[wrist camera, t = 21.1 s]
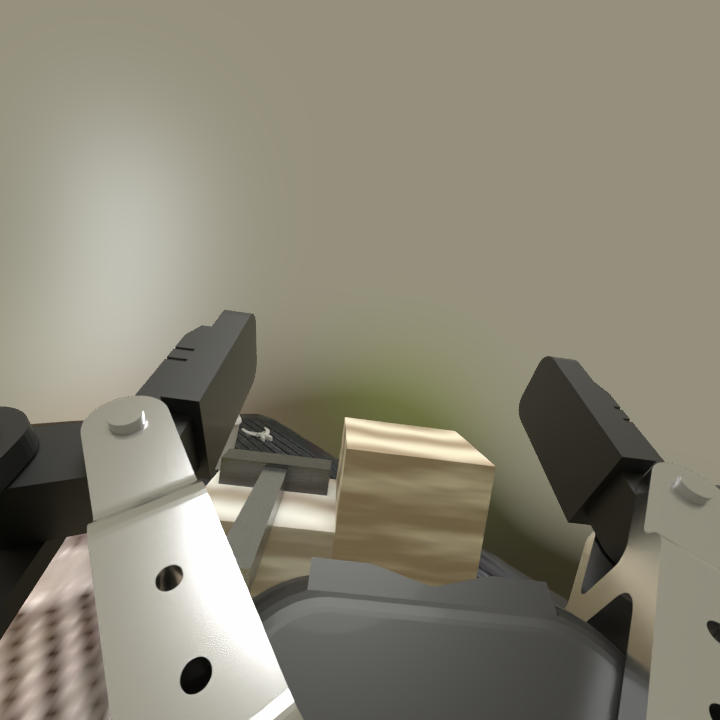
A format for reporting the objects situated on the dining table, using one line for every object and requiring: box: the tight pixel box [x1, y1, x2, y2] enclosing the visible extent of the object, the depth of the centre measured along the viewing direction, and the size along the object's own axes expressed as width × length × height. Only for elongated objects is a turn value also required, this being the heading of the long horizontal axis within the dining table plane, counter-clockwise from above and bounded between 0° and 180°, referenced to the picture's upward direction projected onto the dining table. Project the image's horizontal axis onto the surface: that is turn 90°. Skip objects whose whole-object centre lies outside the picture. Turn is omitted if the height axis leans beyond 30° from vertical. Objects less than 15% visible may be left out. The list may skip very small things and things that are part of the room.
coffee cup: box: [215, 416, 242, 470], centre depth 103 cm, size 10×10×15 cm
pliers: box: [242, 427, 273, 441], centre depth 136 cm, size 10×2×15 cm
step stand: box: [205, 417, 495, 599], centre depth 40 cm, size 12×28×32 cm, turn 93°
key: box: [218, 448, 331, 594], centre depth 34 cm, size 20×12×3 cm, turn 3°
